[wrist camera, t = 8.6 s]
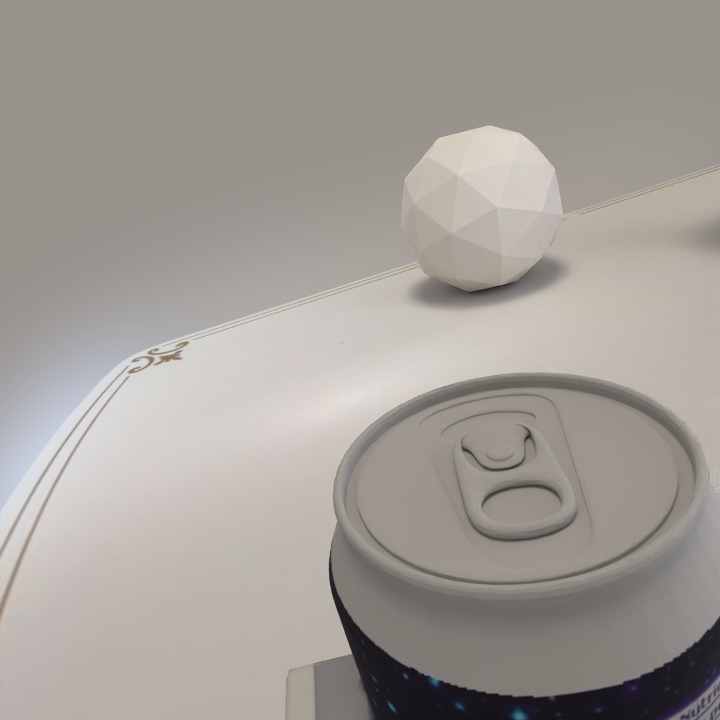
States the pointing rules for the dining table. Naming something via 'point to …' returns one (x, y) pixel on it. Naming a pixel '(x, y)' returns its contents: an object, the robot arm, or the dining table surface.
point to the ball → (480, 208)
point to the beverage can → (530, 555)
